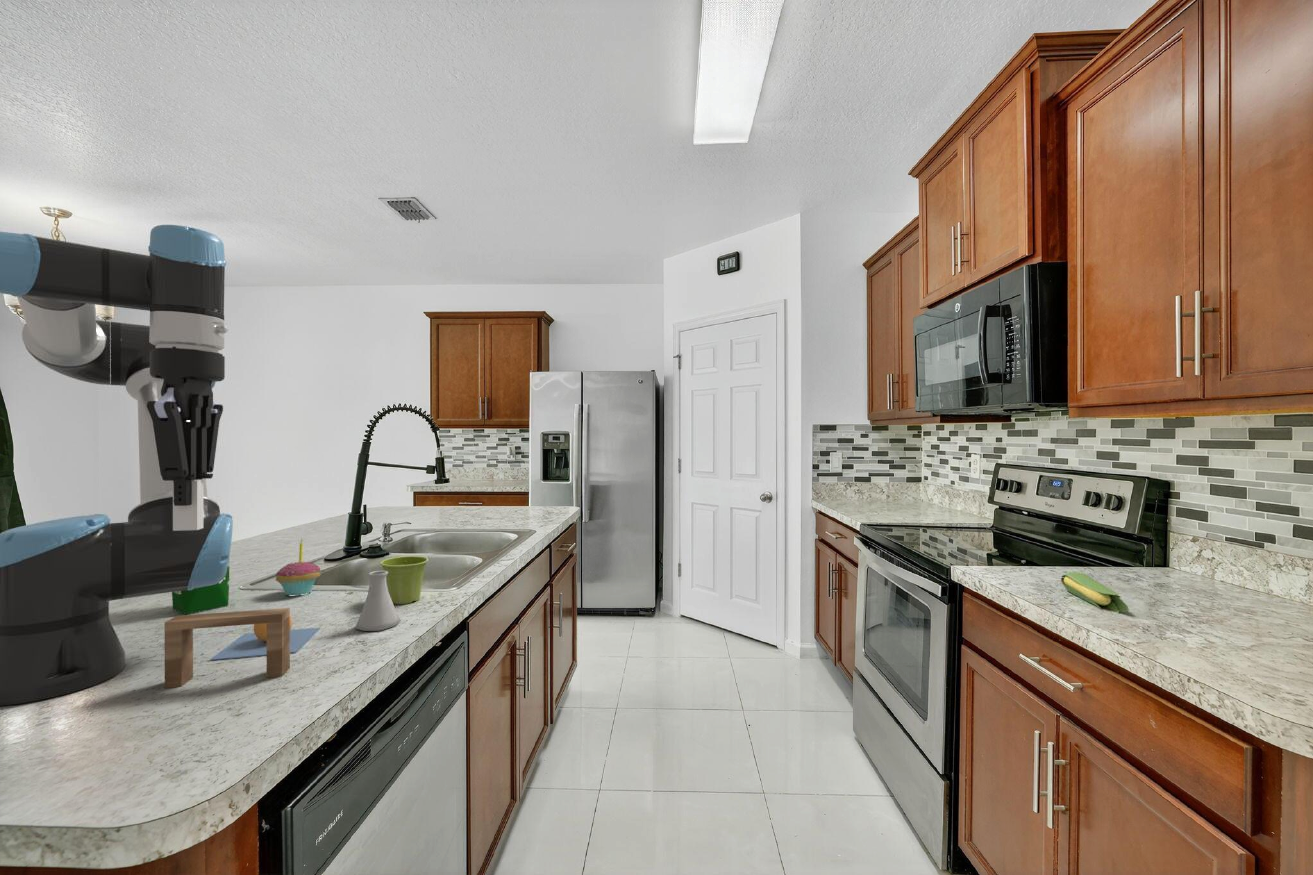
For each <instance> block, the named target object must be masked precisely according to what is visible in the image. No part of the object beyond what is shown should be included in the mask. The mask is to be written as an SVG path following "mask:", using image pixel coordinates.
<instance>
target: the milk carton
mask: <svg viewBox="0 0 1313 875" xmlns="http://www.w3.org/2000/svg"><path fill="white" fill-rule="evenodd" d="M229 591H230V561H229V562H228V567H227V572H226V575H225V577H224V578H223V579H222V581H220V582H219V583H217V584H214V585H210V586H204V587H199V588H194V589H192V590H189V591H188V590H182V591H175V592H171V597H172V598H171V599H172V610H174V611H177V612H179V611H180V612H179V613H181V612H182V614H183V615H192V614H196V612H197V613H200V612H199V611H201V612H204V610H206V611H210V610H213V609H212V608H215V609H218V607H220V608H222V607H221V606H224V607H228V606H229V600H230V599H229V598H230V597H229V595H230V594H229V593H230V592H229ZM227 605H228V606H227ZM191 613H192V614H191Z"/></svg>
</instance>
